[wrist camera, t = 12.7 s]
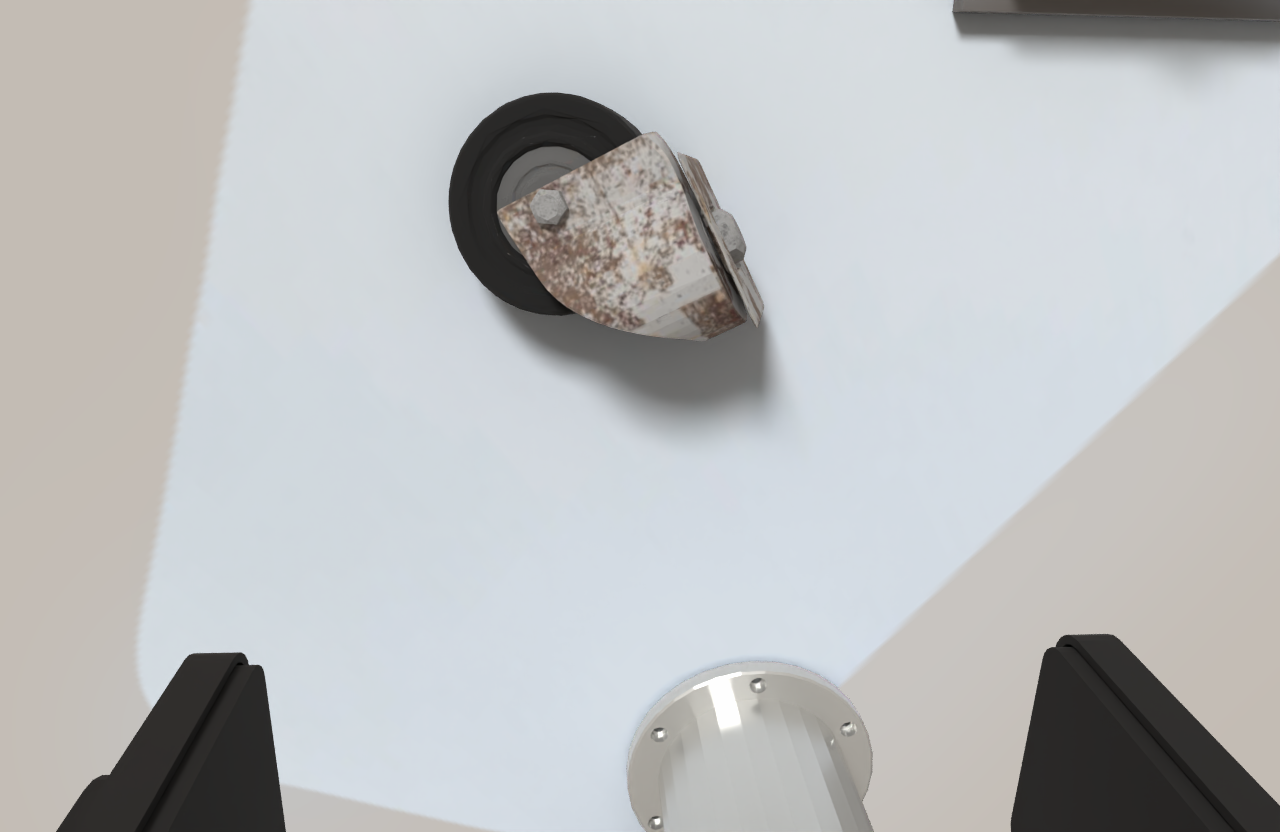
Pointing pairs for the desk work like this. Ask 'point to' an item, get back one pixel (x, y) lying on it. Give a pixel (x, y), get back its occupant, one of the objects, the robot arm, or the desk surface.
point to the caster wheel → (597, 222)
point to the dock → (1131, 8)
